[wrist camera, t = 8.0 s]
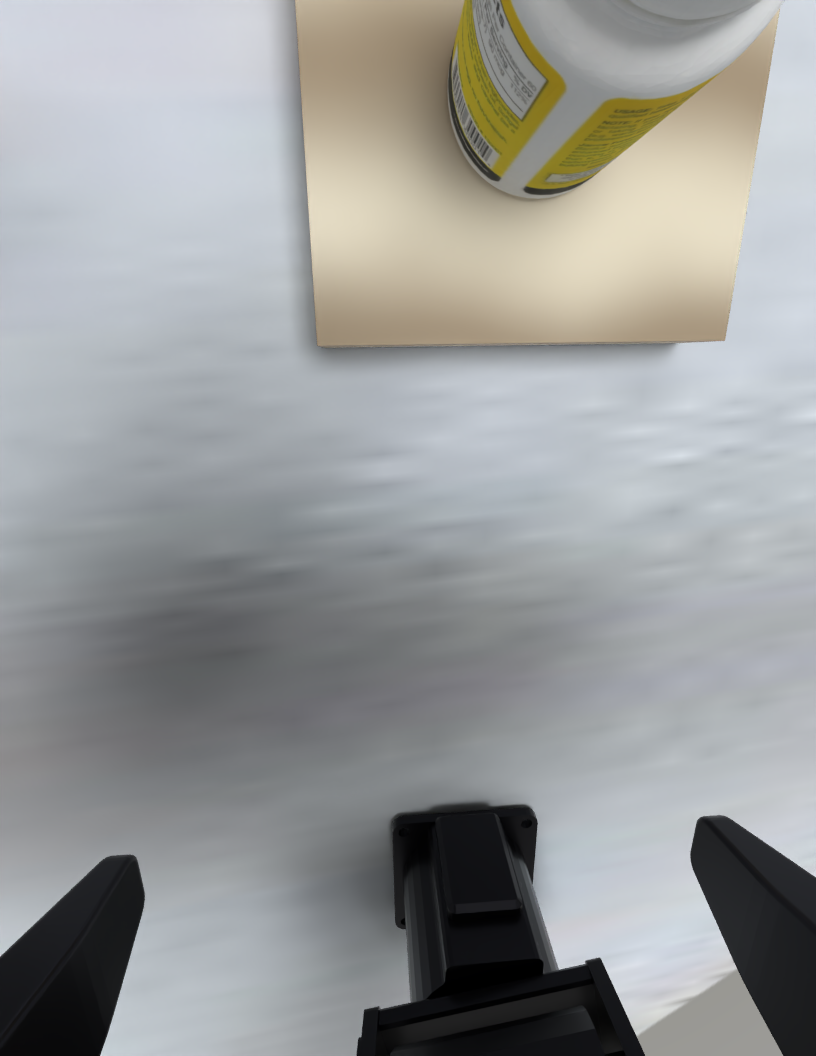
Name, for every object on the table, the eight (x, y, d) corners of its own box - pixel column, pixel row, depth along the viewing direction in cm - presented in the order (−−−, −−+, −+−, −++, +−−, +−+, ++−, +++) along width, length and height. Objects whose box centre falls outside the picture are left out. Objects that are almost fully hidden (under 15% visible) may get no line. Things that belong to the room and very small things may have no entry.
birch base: (677, 343, 18) (724, 340, 15) (324, 347, 17) (317, 345, 15) (742, -128, 14) (818, -227, 12) (294, -148, 13) (278, -259, 11)
